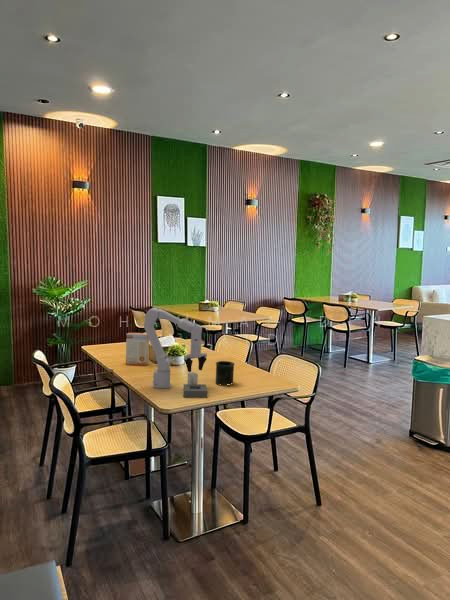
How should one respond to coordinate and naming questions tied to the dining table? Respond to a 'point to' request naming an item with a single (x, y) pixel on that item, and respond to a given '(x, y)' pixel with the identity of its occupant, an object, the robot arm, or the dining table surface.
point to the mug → (224, 372)
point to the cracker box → (137, 349)
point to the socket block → (195, 390)
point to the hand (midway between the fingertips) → (194, 370)
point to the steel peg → (192, 378)
